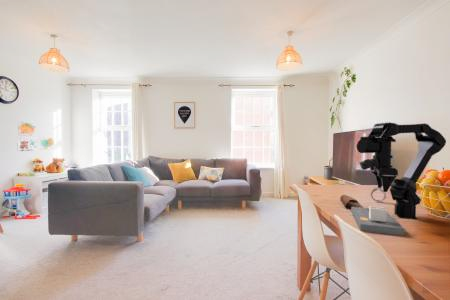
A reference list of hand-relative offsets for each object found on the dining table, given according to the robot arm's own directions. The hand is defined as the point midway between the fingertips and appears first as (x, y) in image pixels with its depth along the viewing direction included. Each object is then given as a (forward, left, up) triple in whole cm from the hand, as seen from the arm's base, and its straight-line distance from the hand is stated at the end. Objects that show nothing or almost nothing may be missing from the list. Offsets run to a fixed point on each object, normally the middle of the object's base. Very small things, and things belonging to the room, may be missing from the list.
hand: (382, 189), depth 100 cm
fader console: (+4, +7, -12) cm, 15 cm away
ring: (-5, -31, -12) cm, 34 cm away
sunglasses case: (+9, -19, -13) cm, 25 cm away
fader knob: (+4, +14, -9) cm, 17 cm away
